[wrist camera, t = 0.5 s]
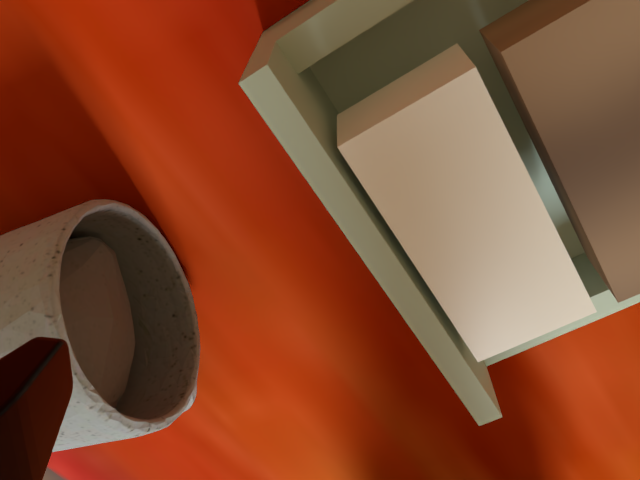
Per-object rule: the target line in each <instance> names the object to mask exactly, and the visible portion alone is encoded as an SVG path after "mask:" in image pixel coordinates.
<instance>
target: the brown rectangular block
mask: <svg viewBox="0 0 640 480" xmlns="http://www.w3.org/2000/svg"><path fill="white" fill-rule="evenodd" d="M479 31H480V33H481V36H482V38H483V40H484V42H485V44H486V46H487V48H488V50H489V52H490V54H491V56H492V59H493V61H494V63H495V65H496V67H497V69H498V71H499V73H500V75H501V77H502V80H503V82H504V84H505V86H506V88H507V90H508V92H509V94H510V96H511V98H512V100H513V103H514V105H515V107H516V109H517V111H518V113H519V115H520V117H521V119H522V121H523V123H524V126H525V128H526V130H527V132H528V134H529V136H530V138H531V140H532V142H533V144H534V147H535V149H536V151H537V153H538V155H539V157H540V159H541V161H542V163H543V165H544V167H545V170H546V172H547V174H548V176H549V178H550V180H551V182H552V184H553V186H554V188H555V191H556V193H557V195H558V197H559V199H560V201H561V203H562V205H563V207H564V209H565V211H566V214H567V216H568V218H569V220H570V222H571V224H572V226H573V228H574V230H575V232H576V235H577V237H578V239H579V241H580V243H581V245H582V247H583V249H584V251H585V253H586V255H587V258H588V259H589V261H590V262H591V264H592V265H593V267H594V268H595V269H596V271H597V272H598V274H599V275H600V277H601V278H602V280H603V281H604V283H605V284H606V286H607V287H608V289H609V290H610V291H611V293H612V294H613V296H614V297H615V299H616V300H617V302H618V303H619V302H622V301H624V300H626V299H629V298H631V297H634V296H636V295H638V294H640V0H528V1H527V2H525V3H523V4H522V5H520V6H518V7H517V8H515V9H513V10H512V11H510V12H508V13H507V14H505V15H503V16H502V17H500V18H498V19H497V20H495V21H493V22H492V23H490V24H488V25H487V26H485V27H483V28H482V29H480V30H479Z"/></svg>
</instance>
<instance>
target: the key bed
mask: <svg viewBox="0 0 640 480" xmlns="http://www.w3.org/2000/svg"><path fill="white" fill-rule="evenodd" d="M527 1H528V0H309V1H308V2H306V3H305V4H303V5H302V6H300V7H299V8H298V9H296V10H295V11H293V12H292V13H290V14H289V15H287V16H286V17H284V18H283V19H281V20H280V21H278V22H277V23H275V24H274V25H272V26H271V27H269V28H268V29H266V30H265V31H263V33H262V35H261V37H260V39H259V41H258V43H257V45H256V47H255V49H254V52H253V54H252V56H251V58H250V60H249V62H248V64H247V66H246V68H245V70H244V72H243V74H242V77H241V79H240V81H239V83H238V84H239V85H240V86H241V88H242V89H243V91H244V92H245V94H246V95H247V96H248V98H249V99H250V101H251V102H252V104H253V105H254V106H255V108H256V109H257V111H258V112H259V114H260V115H261V116H262V118H263V119H264V121H265V122H266V123H267V125H268V126H269V128H270V129H271V131H272V132H273V133H274V135H275V136H276V138H277V139H278V141H279V142H280V143H281V145H282V146H283V148H284V149H285V151H286V152H287V153H288V155H289V156H290V158H291V159H292V160H293V162H294V163H295V165H296V166H297V168H298V169H299V170H300V172H301V173H302V175H303V176H304V178H305V179H306V180H307V182H308V183H309V185H310V186H311V187H312V189H313V190H314V192H315V193H316V195H317V196H318V197H319V199H320V200H321V202H322V203H323V205H324V206H325V207H326V209H327V210H328V212H329V213H330V215H331V216H332V217H333V219H334V220H335V222H336V223H337V224H338V226H339V227H340V229H341V230H342V232H343V233H344V234H345V236H346V237H347V239H348V240H349V242H350V243H351V244H352V246H353V247H354V249H355V250H356V252H357V253H358V254H359V256H360V257H361V259H362V260H363V261H364V263H365V264H366V266H367V267H368V269H369V270H370V271H371V273H372V274H373V276H374V277H375V279H376V280H377V281H378V283H379V284H380V286H381V287H382V289H383V290H384V291H385V293H386V294H387V296H388V297H389V298H390V300H391V301H392V303H393V304H394V306H395V307H396V308H397V310H398V311H399V313H400V314H401V316H402V317H403V318H404V320H405V321H406V323H407V324H408V326H409V327H410V328H411V330H412V331H413V333H414V334H415V335H416V337H417V338H418V340H419V341H420V343H421V344H422V345H423V347H424V348H425V350H426V351H427V353H428V354H429V355H430V357H431V358H432V360H433V361H434V363H435V364H436V365H437V367H438V368H439V370H440V371H441V372H442V374H443V375H444V377H445V378H446V380H447V381H448V382H449V384H450V385H451V387H452V388H453V390H454V391H455V392H456V394H457V395H458V397H459V398H460V399H461V401H462V402H463V404H464V405H465V407H466V408H467V409H468V411H469V412H470V414H471V415H472V417H473V418H474V419H475V421H476V422H477V424H478V425H479V426H481V425H484V424H486V423H489V422H491V421H494V420H497V419H499V418H502V413H501V410H500V407H499V404H498V401H497V398H496V395H495V391H494V388H493V385H492V382H491V379H490V376H489V373H488V369H487V366H489V365H491V364H494V363H496V362H498V361H501V360H503V359H505V358H508V357H510V356H513V355H515V354H517V353H520V352H522V351H525V350H527V349H529V348H532V347H534V346H536V345H539V344H541V343H544V342H546V341H548V340H551V339H553V338H555V337H558V336H560V335H563V334H565V333H567V332H570V331H572V330H574V329H577V328H579V327H582V326H584V325H586V324H589V323H591V322H594V321H596V320H598V319H601V318H603V317H605V316H608V315H610V314H613V313H615V312H617V311H620V310H622V309H624V308H627V307H629V306H632V305H634V304H636V303H639V302H640V294H638V295H636V296H634V297H631V298H629V299H626V300H624V301H622V302H619V303H618V302H617V300H616V299H615V297H614V296H613V294H612V293H611V291H610V290H609V289H608V287H607V286H606V284H605V283H604V281H603V280H602V278H601V277H600V275H599V274H598V272H597V271H596V269H595V268H594V267H593V265H592V264H591V262H590V261H589V259H588V258H587V255H586V253H585V251H584V249H583V247H582V245H581V243H580V241H579V239H578V237H577V235H576V232H575V230H574V228H573V226H572V224H571V222H570V220H569V218H568V216H567V214H566V211H565V209H564V207H563V205H562V203H561V201H560V199H559V197H558V195H557V193H556V191H555V188H554V186H553V184H552V182H551V180H550V178H549V176H548V174H547V172H546V170H545V167H544V165H543V163H542V161H541V159H540V157H539V155H538V153H537V151H536V149H535V147H534V144H533V142H532V140H531V138H530V136H529V134H528V132H527V130H526V128H525V126H524V123H523V121H522V119H521V117H520V115H519V113H518V111H517V109H516V107H515V105H514V103H513V100H512V98H511V96H510V94H509V92H508V90H507V88H506V86H505V84H504V82H503V80H502V77H501V75H500V73H499V71H498V69H497V67H496V65H495V63H494V61H493V59H492V56H491V54H490V52H489V50H488V48H487V46H486V44H485V42H484V40H483V38H482V36H481V33H480V31H479V30H480V29H482V28H483V27H485V26H487V25H488V24H490V23H492V22H493V21H495V20H497V19H498V18H500V17H502V16H503V15H505V14H507V13H508V12H510V11H512V10H513V9H515V8H517V7H518V6H520V5H522V4H523V3H525V2H527ZM457 43H458V45H459V46H460V47H461V49H462V50H463V51H464V52H465V54H466V55H467V56H468V58H469V59H470V60H471V61H472V63H473V64H474V65H475V66H476V68H477V70H478V72H479V74H480V76H481V78H482V80H483V82H484V84H485V86H486V89H487V91H488V93H489V95H490V97H491V99H492V101H493V103H494V105H495V107H496V109H497V111H498V113H499V115H500V117H501V119H502V121H503V123H504V125H505V127H506V129H507V131H508V133H509V135H510V137H511V139H512V141H513V143H514V145H515V147H516V149H517V151H518V153H519V155H520V157H521V159H522V161H523V163H524V165H525V167H526V169H527V171H528V173H529V175H530V177H531V179H532V182H533V184H534V186H535V188H536V190H537V192H538V194H539V196H540V198H541V200H542V202H543V204H544V206H545V208H546V210H547V212H548V214H549V216H550V218H551V220H552V222H553V224H554V226H555V228H556V230H557V232H558V234H559V236H560V238H561V240H562V242H563V244H564V246H565V248H566V250H567V252H568V254H569V256H570V258H571V260H572V262H573V264H574V266H575V268H576V270H577V272H578V275H579V277H580V279H581V281H582V283H583V285H584V287H585V289H586V291H587V293H588V295H589V297H590V299H591V301H592V303H593V305H594V307H595V309H596V311H597V312H596V313H593V314H591V315H589V316H586V317H584V318H582V319H579V320H577V321H575V322H572V323H570V324H567V325H565V326H563V327H560V328H558V329H556V330H553V331H551V332H549V333H546V334H544V335H542V336H539V337H537V338H534V339H532V340H530V341H527V342H525V343H523V344H520V345H518V346H516V347H513V348H511V349H509V350H506V351H504V352H501V353H499V354H497V355H494V356H492V357H490V358H487V359H485V360H483V361H480V362H477V360H476V358H475V357H474V355H473V354H472V352H471V351H470V349H469V348H468V346H467V345H466V343H465V342H464V340H463V339H462V337H461V336H460V334H459V333H458V331H457V329H456V328H455V326H454V325H453V323H452V322H451V320H450V319H449V317H448V316H447V314H446V313H445V311H444V310H443V308H442V307H441V305H440V303H439V302H438V300H437V299H436V297H435V296H434V294H433V293H432V291H431V290H430V288H429V287H428V285H427V284H426V282H425V281H424V279H423V278H422V276H421V274H420V273H419V271H418V270H417V268H416V267H415V265H414V264H413V262H412V261H411V259H410V258H409V256H408V255H407V253H406V252H405V250H404V248H403V247H402V245H401V244H400V242H399V241H398V239H397V238H396V236H395V235H394V233H393V232H392V230H391V229H390V227H389V226H388V224H387V222H386V221H385V219H384V218H383V216H382V215H381V213H380V212H379V210H378V209H377V207H376V206H375V204H374V203H373V201H372V200H371V198H370V197H369V195H368V193H367V192H366V190H365V189H364V187H363V186H362V184H361V183H360V181H359V180H358V178H357V177H356V175H355V174H354V172H353V171H352V169H351V167H350V166H349V164H348V163H347V161H346V160H345V158H344V157H343V155H342V154H341V152H340V151H339V149H338V148H337V115H338V114H340V113H341V112H343V111H345V110H346V109H348V108H350V107H351V106H353V105H355V104H356V103H358V102H360V101H361V100H363V99H365V98H366V97H368V96H370V95H371V94H373V93H375V92H376V91H378V90H380V89H381V88H383V87H385V86H386V85H388V84H390V83H391V82H393V81H395V80H396V79H398V78H400V77H401V76H403V75H405V74H406V73H408V72H410V71H411V70H413V69H415V68H416V67H418V66H420V65H422V64H423V63H425V62H427V61H428V60H430V59H432V58H433V57H435V56H437V55H438V54H440V53H442V52H443V51H445V50H447V49H448V48H450V47H452V46H453V45H455V44H457Z"/></svg>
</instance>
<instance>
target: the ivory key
mask: <svg viewBox="0 0 640 480" xmlns="http://www.w3.org/2000/svg"><path fill="white" fill-rule="evenodd" d="M337 148H338V149H339V151H340V152H341V154H342V155H343V157H344V158H345V160H346V161H347V163H348V164H349V166H350V167H351V169H352V171H353V172H354V174H355V175H356V177H357V178H358V180H359V181H360V183H361V184H362V186H363V187H364V189H365V190H366V192H367V193H368V195H369V197H370V198H371V200H372V201H373V203H374V204H375V206H376V207H377V209H378V210H379V212H380V213H381V215H382V216H383V218H384V219H385V221H386V222H387V224H388V226H389V227H390V229H391V230H392V232H393V233H394V235H395V236H396V238H397V239H398V241H399V242H400V244H401V245H402V247H403V248H404V250H405V252H406V253H407V255H408V256H409V258H410V259H411V261H412V262H413V264H414V265H415V267H416V268H417V270H418V271H419V273H420V274H421V276H422V278H423V279H424V281H425V282H426V284H427V285H428V287H429V288H430V290H431V291H432V293H433V294H434V296H435V297H436V299H437V300H438V302H439V303H440V305H441V307H442V308H443V310H444V311H445V313H446V314H447V316H448V317H449V319H450V320H451V322H452V323H453V325H454V326H455V328H456V329H457V331H458V333H459V334H460V336H461V337H462V339H463V340H464V342H465V343H466V345H467V346H468V348H469V349H470V351H471V352H472V354H473V355H474V357H475V358H476V360H477V362H480V361H483V360H485V359H487V358H490V357H492V356H494V355H497V354H499V353H501V352H504V351H506V350H509V349H511V348H513V347H516V346H518V345H520V344H523V343H525V342H527V341H530V340H532V339H534V338H537V337H539V336H542V335H544V334H546V333H549V332H551V331H553V330H556V329H558V328H560V327H563V326H565V325H567V324H570V323H572V322H575V321H577V320H579V319H582V318H584V317H586V316H589V315H591V314H593V313H596V312H597V311H596V309H595V307H594V305H593V303H592V301H591V299H590V297H589V295H588V293H587V291H586V289H585V287H584V285H583V283H582V281H581V279H580V277H579V275H578V272H577V270H576V268H575V266H574V264H573V262H572V260H571V258H570V256H569V254H568V252H567V250H566V248H565V246H564V244H563V242H562V240H561V238H560V236H559V234H558V232H557V230H556V228H555V226H554V224H553V222H552V220H551V218H550V216H549V214H548V212H547V210H546V208H545V206H544V204H543V202H542V200H541V198H540V196H539V194H538V192H537V190H536V188H535V186H534V184H533V182H532V179H531V177H530V175H529V173H528V171H527V169H526V167H525V165H524V163H523V161H522V159H521V157H520V155H519V153H518V151H517V149H516V147H515V145H514V143H513V141H512V139H511V137H510V135H509V133H508V131H507V129H506V127H505V125H504V123H503V121H502V119H501V117H500V115H499V113H498V111H497V109H496V107H495V105H494V103H493V101H492V99H491V97H490V95H489V93H488V91H487V89H486V86H485V84H484V82H483V80H482V78H481V76H480V74H479V72H478V70H477V68H476V66H475V65H474V64H473V63H472V61H471V60H470V59H469V58H468V56H467V55H466V54H465V52H464V51H463V50H462V49H461V47H460V46H459V45H458V43H457V44H455V45H453V46H452V47H450V48H448V49H447V50H445V51H443V52H442V53H440V54H438V55H437V56H435V57H433V58H432V59H430V60H428V61H427V62H425V63H423V64H422V65H420V66H418V67H416V68H415V69H413V70H411V71H410V72H408V73H406V74H405V75H403V76H401V77H400V78H398V79H396V80H395V81H393V82H391V83H390V84H388V85H386V86H385V87H383V88H381V89H380V90H378V91H376V92H375V93H373V94H371V95H370V96H368V97H366V98H365V99H363V100H361V101H360V102H358V103H356V104H355V105H353V106H351V107H350V108H348V109H346V110H345V111H343V112H341V113H340V114H338V115H337Z"/></svg>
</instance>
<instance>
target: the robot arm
mask: <svg viewBox="0 0 640 480" xmlns="http://www.w3.org/2000/svg"><path fill="white" fill-rule="evenodd" d="M72 390H73V376H72V369H71V361H70V354H69V347H68V344H67V342H66V341H65V340H63V339H60V338H50V337H35V338H33V339H31V340H29V341H28V342H26V343H24V344H23V345H21V346H20V347H18V348H16V349H15V350H13V351H12V352H10V353H9V354H7V355H5V356H4V357H2V358H1V359H0V480H42V479H43V476H44V473H45V471H46V468H47V465H48V462H49V459H50V456H51V453H52V451H53V448H54V445H55V442H56V439H57V436H58V433H59V430H60V427H61V425H62V422H63V419H64V416H65V413H66V410H67V407H68V404H69V402H70V399H71V395H72Z"/></svg>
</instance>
